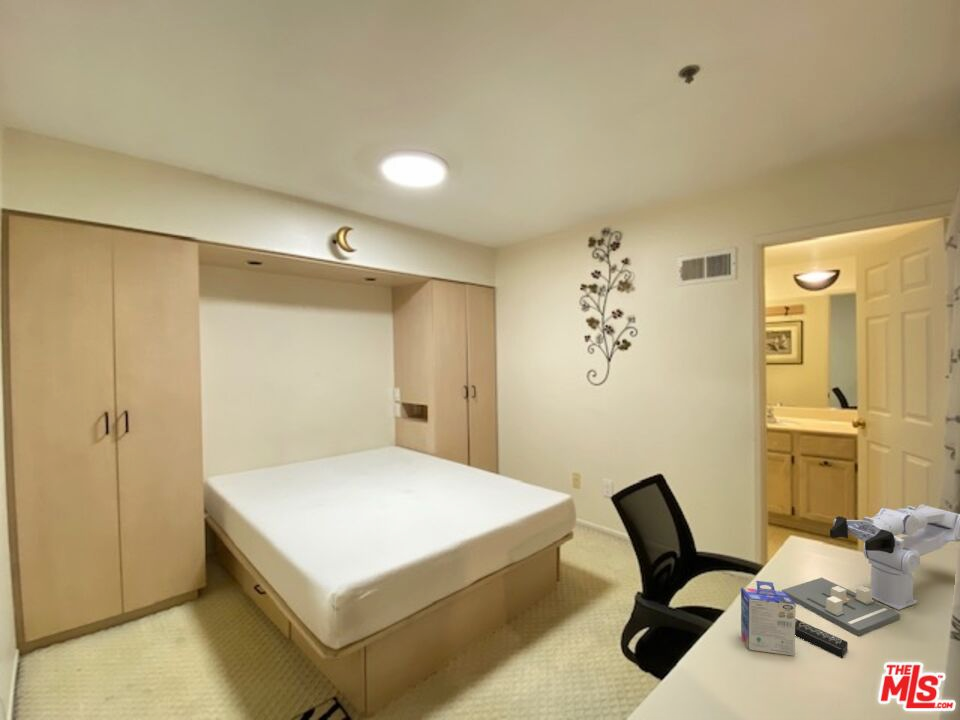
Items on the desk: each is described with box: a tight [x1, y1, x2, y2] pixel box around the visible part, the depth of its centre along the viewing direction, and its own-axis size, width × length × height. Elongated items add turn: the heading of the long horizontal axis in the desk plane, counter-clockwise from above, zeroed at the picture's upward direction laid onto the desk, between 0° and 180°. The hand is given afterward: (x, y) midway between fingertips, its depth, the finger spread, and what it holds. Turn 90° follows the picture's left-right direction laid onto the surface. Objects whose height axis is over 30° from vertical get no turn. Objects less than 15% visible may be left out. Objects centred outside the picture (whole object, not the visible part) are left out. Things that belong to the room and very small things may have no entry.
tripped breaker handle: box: [831, 585, 848, 604], centre depth 113 cm, size 3×3×3 cm
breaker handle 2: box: [854, 585, 875, 605], centre depth 113 cm, size 3×3×3 cm
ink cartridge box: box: [740, 580, 797, 657], centre depth 98 cm, size 10×6×14 cm, turn 79°
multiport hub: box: [795, 618, 848, 659], centre depth 100 cm, size 4×11×2 cm, turn 36°
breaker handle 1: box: [824, 596, 844, 616], centre depth 108 cm, size 3×3×3 cm
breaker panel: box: [781, 577, 901, 637], centre depth 113 cm, size 18×18×2 cm
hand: (848, 539), depth 108 cm, fingers open, 7 cm apart
